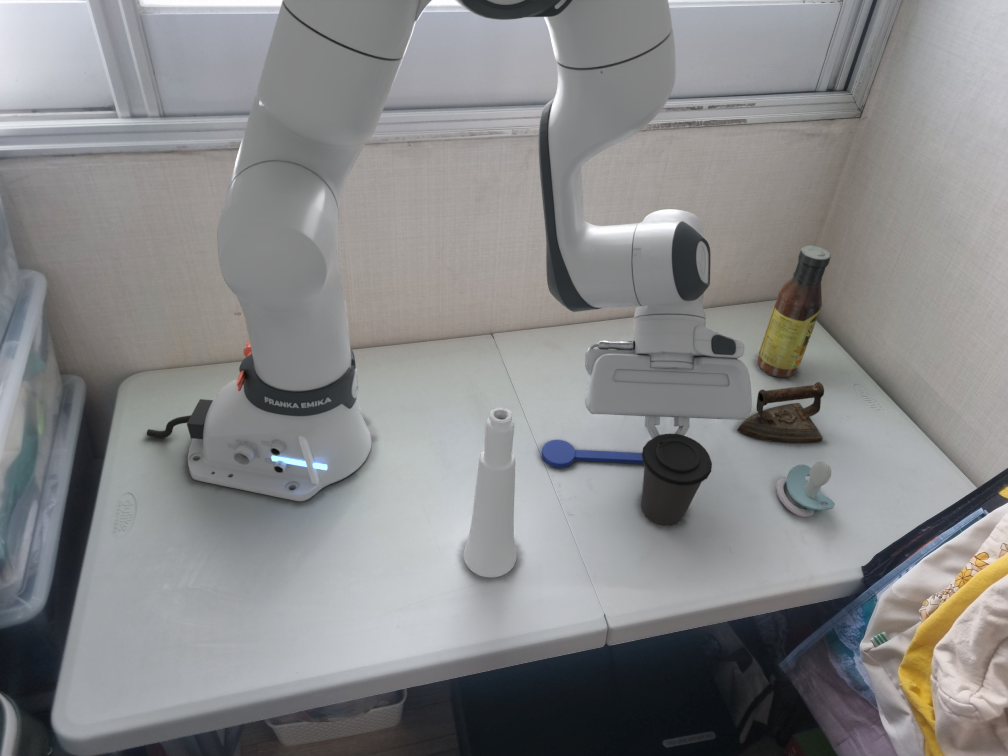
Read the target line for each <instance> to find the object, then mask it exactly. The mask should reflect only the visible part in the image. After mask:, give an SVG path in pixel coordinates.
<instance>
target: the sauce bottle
mask: <svg viewBox="0 0 1008 756" xmlns="http://www.w3.org/2000/svg"><path fill="white" fill-rule="evenodd" d="M831 258H832V255H831V252H830V251H828V250H827V249H825V248H823V247H820V246H818V245H805V246H803V247H802V248H801V249H800V251H799V254H798V258H797V260H798V261H797V265H796V268H795V270H794V272H793V275H792V277H791V278H790V279H789V280H788V281H786V282H785V283H784V284H783V285H782V286H781V287H780V289H779V292H778V295H777V298H776V301H775V303H774V305H773V307H772V311H771V313H770V316H769V319H768V324H767V326H766V330H765V332H764V336H763V338H762V342H761V344H760V345H761V346H760V348H759V350H758V357H757V365H758V366H759V368H760V369H761V370H762V371H763V372H764V373H766V374H769V375H771V376H772V377H773V376H774V377H778V378H789V377H791V376H793V375H794V374H795V373H796V372H797V370H798V368H799V367H800V365H801V364H802V361H803V358H804V355H805V352H806V350H807V347H808V344H809V342H810V339H811V337H812V334H813V331H814V329H815V326H816V323H817V320H818V318H819V315H820V313H821V309H822V307H823V303H822V301H823V300H822V281H823V276H824V274H825V272H826V269H827V267H828V266H829V264H830V261H831Z"/></svg>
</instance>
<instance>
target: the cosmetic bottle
mask: <svg viewBox="0 0 1008 756" xmlns="http://www.w3.org/2000/svg"><path fill="white" fill-rule="evenodd" d="M484 433H485V434H484V436H485V437H484V449H483V450H482V451H481V452H480V455H479V458H478V467H477V475H476V482H475V491H474V499H473V500H474V501H473V507H472V515H471V520H470V521H471V523H470V527H469V532H468V535H467V540H466V544H465V547H464V549H463V561H464V563H465V565H466V567H467V568H468V569H469V570H470V571H471V572H473V573H474V574H475V575H477V576H480V577H483V578H490V579H491V578H492V579H493V578H498V577H502V576H504V575H506V574H507V573H509V572H510V571H511V570H513V568H514V566H515V565H516V563H517V557H518V553H517V549H516V541H515V494H516V493H515V491H516V490H515V489H516V456H515V454H514V452H513V447H514V445H513V444H514V435H515V434H514V433H515V422H514V419H513V413H512V410H510V409H509V408H507V407H502V406H501V407H500V406H498V407H495V408H492V409H491V410H490V411H489V413H488V418H487V420H486V422H485V432H484Z"/></svg>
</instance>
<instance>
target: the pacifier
mask: <svg viewBox="0 0 1008 756" xmlns="http://www.w3.org/2000/svg"><path fill="white" fill-rule="evenodd" d="M806 477H808V479H807V478H806ZM831 477H832V468H831V465H829V463H828V462H826V461H825V460H816V461H815V462H814V463H812V465H811V466H810V465H807V464H797V465H795V466H793V467H792V468H791V469H790V470H788V473H787V474H786V477H781V478H780V479H778V480H777V482H776V486H775V489H776V494H777V496H778V499H779V501H780V502H781V504H782V505H783V506H784V507H785V508H786V509H787V510H788V511H790V512H791V513H792V514H794V515H796V516H799V517H802V518H808V517H811V516H812V515H814V513H815V511H816V510H817V511H828V510H829V511H830V510H833V509H834V508H835V506H836V503H835V502H834V500H833V499H832V498H830V497H829V496H827V495H825V494H823V493H822V492H821V489H822V488H821V487H822V486H824V485H826V484H828V482H829V481H830V480H831ZM785 486H786V489H787V492H788V493H789V496H790V497H791V498H792V499H793V500H794V501H795V502H796V503H797V504H799V506H801V507H803V508H805V509H802V508H799V507H798V506H796V505H795V504H793V502H791V501H790V500H789V498H788V497H787V495H786V493H785V489H784V487H785Z"/></svg>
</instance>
